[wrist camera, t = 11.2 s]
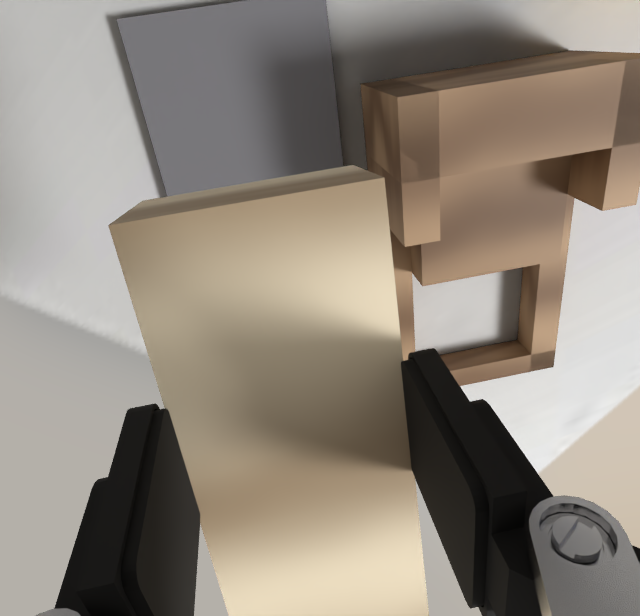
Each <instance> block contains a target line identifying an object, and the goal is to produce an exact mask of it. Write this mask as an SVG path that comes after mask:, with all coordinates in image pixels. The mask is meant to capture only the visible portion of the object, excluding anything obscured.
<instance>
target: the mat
mask: <svg viewBox="0 0 640 616" xmlns="http://www.w3.org/2000/svg"><path fill="white" fill-rule="evenodd" d="M116 20H117V23H118V27H119V30H120V34H121V37H122V41H123V44H124V47H125V51H126V54H127V58H128V61H129V65H130V68H131V72H132V75H133V79H134V82H135V86H136V89H137V93H138V96H139V100H140V103H141V107H142V110H143V114H144V117H145V121H146V124H147V128H148V131H149V135H150V138H151V142H152V145H153V149H154V152H155V156H156V159H157V163H158V166H159V169H160V173H161V176H162V180H163V183H164V187H165V190H166V194H167V197H168V196H174V195H180V194H186V193H191V192H197V191H203V190H209V189H215V188H221V187H227V186H232V185H238V184H244V183H250V182H256V181H262V180H268V179H273V178H279V177H285V176H291V175H297V174H303V173H309V172H315V171H320V170H326V169H332V168H338V167H343V158H342V148H341V139H340V129H339V120H338V110H337V101H336V91H335V82H334V73H333V63H332V54H331V44H330V35H329V25H328V16H327V6H326V0H245V1H238V2H231V3H224V4H217V5H211V6H204V7H197V8H190V9H183V10H176V11H169V12H162V13H155V14H148V15H141V16H134V17H127V18H121V19H116Z"/></svg>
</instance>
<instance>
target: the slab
mask: <svg viewBox="0 0 640 616" xmlns="http://www.w3.org/2000/svg"><path fill="white" fill-rule="evenodd" d="M108 226H109V229H110V232H111V235H112V239H113V242H114V245H115V248H116V252H117V255H118V258H119V261H120V265H121V268H122V271H123V274H124V277H125V281H126V284H127V287H128V290H129V294H130V297H131V300H132V303H133V307H134V310H135V313H136V316H137V320H138V323H139V326H140V329H141V333H142V336H143V339H144V342H145V346H146V349H147V352H148V355H149V358H150V362H151V365H152V368H153V371H154V375H155V378H156V381H157V384H158V388H159V391H160V394H161V397H162V401H163V404H164V407H165V408H166V409H168V411H169V413H170V417H171V420H172V423H173V426H174V430H175V433H176V436H177V439H178V443H179V446H180V449H181V453H182V456H183V459H184V462H185V466H186V469H187V472H188V475H189V479H190V482H191V485H192V489H193V492H194V495H195V498H196V502H197V505H198V508H199V511H200V524H201V527H202V530H203V534H204V537H205V540H206V543H207V546H208V550H209V552H210V556H211V559H212V563H213V566H214V569H215V572H216V575H217V579H218V582H219V585H220V588H221V592H222V595H223V598H224V602H225V605H226V608H227V611H228V615H229V616H429V611H428V601H427V592H426V582H425V572H424V562H423V553H422V543H421V532H420V523H419V513H418V503H417V493H416V483H415V477H414V474H413V472H412V468H411V459H410V449H409V439H408V430H407V420H406V410H405V400H404V391H403V381H402V371H401V362H402V361H403V355H402V345H401V335H400V326H399V316H398V306H397V296H396V286H395V276H394V267H393V257H392V247H391V237H390V227H389V217H388V208H387V198H386V188H385V178H384V177H382V176H379V175H377V174H374V173H372V172H369V171H367V170H364V169H362V168H359V167H357V166H355V165H350V166H344V167H338V168H332V169H326V170H320V171H315V172H309V173H303V174H297V175H291V176H285V177H279V178H273V179H268V180H262V181H256V182H250V183H244V184H238V185H232V186H227V187H221V188H215V189H209V190H203V191H197V192H191V193H186V194H180V195H174V196H168V197H162V198H156V199H150V200H145V201H142V202H140V203H139V204H138V205H136V206H135V207H133V208H132V209H131V210H129V211H128V212H126V213H125V214H124V215H122V216H121V217H119V218H118V219H117V220H115V221H114V222H112V223H111V224H110V225H108Z"/></svg>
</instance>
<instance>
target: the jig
mask: <svg viewBox="0 0 640 616" xmlns="http://www.w3.org/2000/svg"><path fill="white" fill-rule="evenodd" d="M360 85H361V97H362V109H363V121H364V133H365V146H366V158H367V170H368V171H369V172H372V173H374V174H377V175H379V176H382V177H384V178H385V188H386V198H387V208H388V217H389V227H390V237H391V247H392V257H393V267H394V276H395V286H396V296H397V306H398V316H399V326H400V335H401V345H402V355H403V361H405V360H408V355H409V353H411V352H415V335H414V312H413V288H412V273H413V274H414V276H415V277H416V278H417V280H418V281H419V282H420V284H421V285H422V286H426V285H432V284H437V283H442V282H448V281H453V280H458V279H463V278H469V277H474V276H479V275H485V274H490V273H495V272H500V271H506V270H511V269H516V268H522V267H523V273H522V286H521V299H520V312H519V324H518V337H517V340H514V341H509V342H504V343H499V344H494V345H489V346H484V347H479V348H474V349H469V350H464V351H459V352H454V353H449V354H444V355H440V357H441V358H442V360H443V361H444V363H445V364H446V366H447V368H448V369H449V371H450V372H451V374H452V375H453V377H454V378H455V380H456V381H457V383H458V384H459V386H462V385H467V384H472V383H477V382H482V381H487V380H492V379H496V378H501V377H506V376H511V375H516V374H521V373H526V372H531V371H535V370H540V369H545V368H550V367H553V365H554V357H555V349H556V341H557V333H558V325H559V317H560V309H561V301H562V293H563V285H564V277H565V269H566V261H567V253H568V245H569V237H570V229H571V221H572V213H573V205H574V198H576V199H578V200H580V201H582V202H585V203H587V204H589V205H591V206H593V207H595V208H597V209H599V210H602V211H604V210H610V209H615V208H621V207H626V206H632V205H636V202H637V197H638V192H639V186H640V53H620V52H595V51H564V52H558V53H551V54H545V55H539V56H532V57H526V58H520V59H514V60H507V61H501V62H495V63H488V64H482V65H476V66H469V67H463V68H457V69H451V70H444V71H438V72H432V73H425V74H419V75H413V76H406V77H400V78H394V79H388V80H381V81H375V82H369V83H362V84H360Z"/></svg>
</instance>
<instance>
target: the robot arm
mask: <svg viewBox="0 0 640 616" xmlns="http://www.w3.org/2000/svg"><path fill="white" fill-rule="evenodd" d="M401 371H402V381H403V391H404V400H405V410H406V420H407V430H408V439H409V449H410V459H411V468H412V472H413V474H414V477H415V479H416V481H417V484H418V486H419V489H420V491H421V493H422V496H423V498H424V501H425V503H426V506H427V508H428V510H429V513H430V515H431V518H432V520H433V522H434V525H435V527H436V530H437V532H438V534H439V537H440V539H441V542H442V544H443V546H444V549H445V551H446V554H447V556H448V559H449V561H450V564H451V566H452V569H453V571H454V573H455V576H456V578H457V581H458V583H459V586H460V588H461V590H462V593H463V595H464V598H465V600H466V602H467V604H468V606H469V607H470V608H474V607H479V609H480V612H481V614H482V616H640V548H637V547H635V546H632V545H631V543H630V541H629V539H628V536H627V534H626V533H625V531H624V529H623V528H622V526H621V525H620V523H619V522H618V521H617V520H616V519H615V518H614V517H613V516H612V515H611V514H610V513H609V512H608V511H606V510H604V509H603V508H601V507H600V506H598V505H596V504H595V503H593V502H590V501H587V500H585V499H581V498H579V497H572V496H555V497H553V495H552V494H551V492H550V491H549V489H548V488H547V486H546V485H545V484H544V482H543V481H542V479H541V478H540V477H539V475H538V473H537V472H536V471H535V469H534V468H533V466H532V465H531V463H530V462H529V461H528V459H527V458H526V456H525V455H524V453H523V452H522V451H521V449H520V448H519V446H518V445H517V443H516V442H515V441H514V439H513V438H512V436H511V435H510V433H509V432H508V431H507V429H506V428H505V426H504V425H503V423H502V422H501V421H500V419H499V418H498V416H497V415H496V413H495V412H494V411H493V409H492V408H491V406H490V405H489V404H488V403H487V402H486V401H485V400H483V399H481V400H476V401H472V402H470V401H469V400H468V398H467V397H466V395H465V394H464V392H463V391H462V389H461V387H460V386H459V384H458V383H457V381H456V380H455V378H454V377H453V375H452V374H451V372H450V371H449V369H448V368H447V366H446V364H445V363H444V361H443V360H442V358H441V357H440V355H439V354H438V352H437V351H436V350H435V349H434V348H432V349H427V350H421V351H416V352H411V353H409V355H408V360H405V361H402V362H401ZM199 530H200V511H199V508H198V505H197V502H196V498H195V495H194V492H193V489H192V485H191V482H190V479H189V475H188V472H187V469H186V466H185V462H184V459H183V456H182V453H181V449H180V446H179V443H178V439H177V436H176V433H175V430H174V426H173V423H172V420H171V417H170V413H169V411H168V409H166V408H165V409H161V410H160V409H159V407H158V405H157V404H151V405H145V406H141V407H135V408H130V409H129V410H128V411H127V413H126V416H125V420H124V423H123V427H122V430H121V434H120V437H119V441H118V444H117V448H116V451H115V455H114V458H113V462H112V465H111V469H110V472H109V476H108V477H106V478H102V479H98V480H97V481H96V482H95V483H94V486H93V488H92V490H91V493H90V497H89V500H88V503H87V507H86V510H85V513H84V516H83V519H82V522H81V525H80V529H79V532H78V535H77V538H76V541H75V544H74V548H73V551H72V554H71V557H70V560H69V564H68V567H67V570H66V573H65V577H64V580H63V583H62V586H61V589H60V593H59V596H58V599H57V602H56V605H55V608H54V609H52V610H49V611H46V612H43V613H40V614H38V615H36V616H194V604H195V589H196V574H197V559H198V545H199Z"/></svg>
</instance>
